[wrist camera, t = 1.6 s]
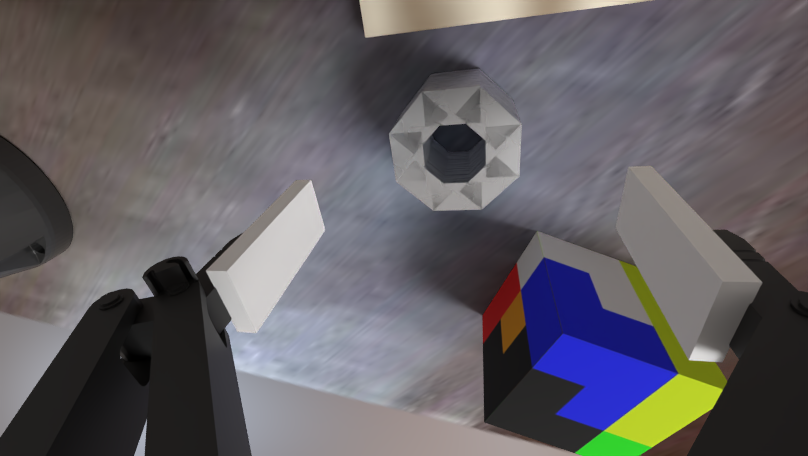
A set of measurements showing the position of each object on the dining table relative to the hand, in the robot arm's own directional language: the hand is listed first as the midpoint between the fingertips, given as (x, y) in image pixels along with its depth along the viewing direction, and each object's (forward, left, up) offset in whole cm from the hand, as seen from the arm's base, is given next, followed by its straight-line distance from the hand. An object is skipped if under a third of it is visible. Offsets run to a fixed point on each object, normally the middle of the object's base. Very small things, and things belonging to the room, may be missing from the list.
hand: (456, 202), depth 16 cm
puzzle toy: (+8, -15, -11) cm, 20 cm away
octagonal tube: (0, 0, -10) cm, 10 cm away
